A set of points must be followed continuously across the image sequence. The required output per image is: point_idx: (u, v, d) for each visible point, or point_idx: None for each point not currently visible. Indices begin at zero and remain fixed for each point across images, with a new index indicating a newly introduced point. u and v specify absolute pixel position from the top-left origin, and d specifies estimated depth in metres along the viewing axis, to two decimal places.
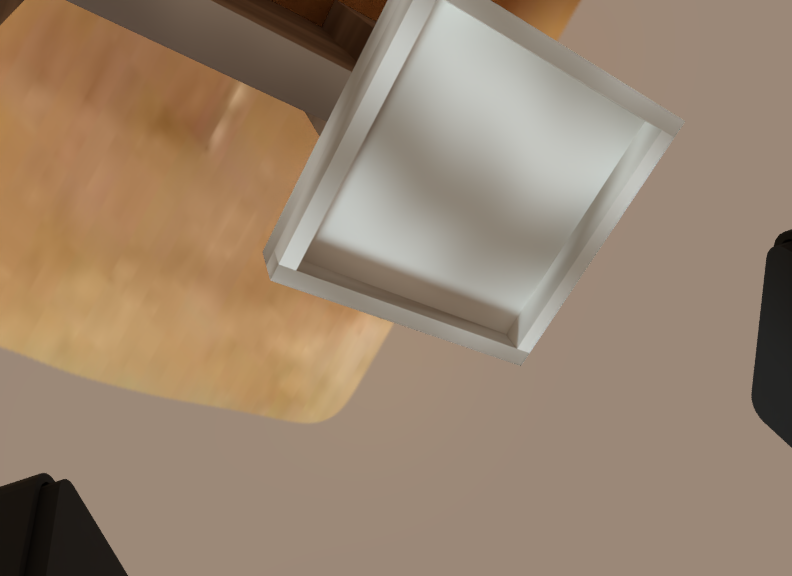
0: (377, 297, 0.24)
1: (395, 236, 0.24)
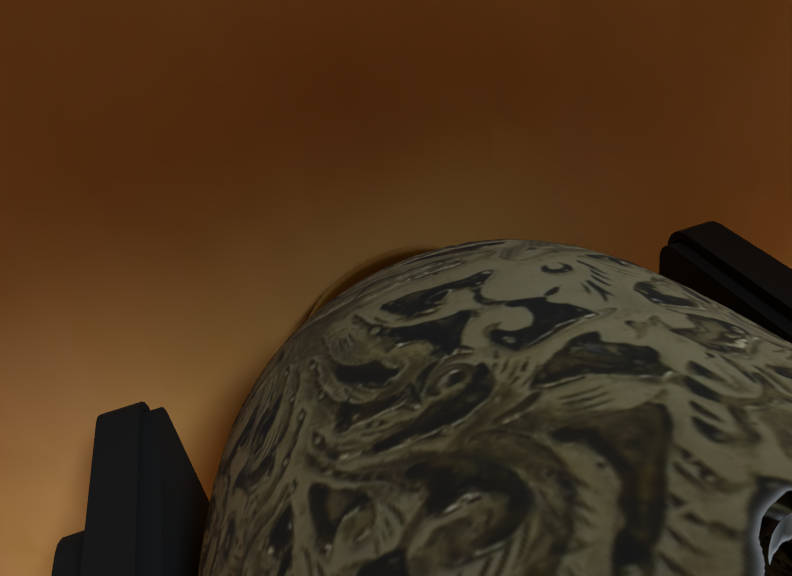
0: None
1: None
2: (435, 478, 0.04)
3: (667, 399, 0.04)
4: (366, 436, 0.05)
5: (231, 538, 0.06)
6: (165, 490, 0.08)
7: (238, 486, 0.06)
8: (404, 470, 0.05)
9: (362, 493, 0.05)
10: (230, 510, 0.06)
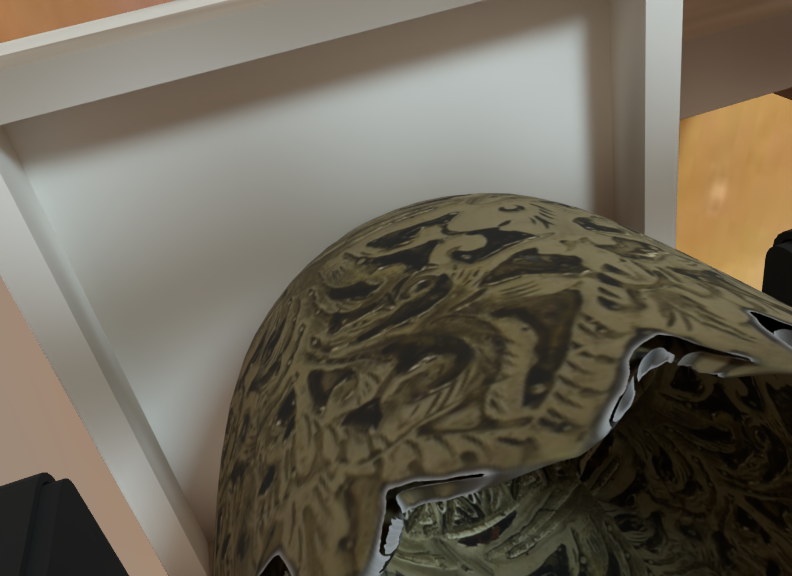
0: (437, 9, 0.10)
1: (444, 124, 0.12)
2: (403, 351, 0.06)
3: (581, 287, 0.06)
4: (352, 332, 0.06)
5: (247, 425, 0.07)
6: None
7: (251, 390, 0.07)
8: (380, 349, 0.06)
9: (348, 369, 0.06)
10: (245, 409, 0.07)
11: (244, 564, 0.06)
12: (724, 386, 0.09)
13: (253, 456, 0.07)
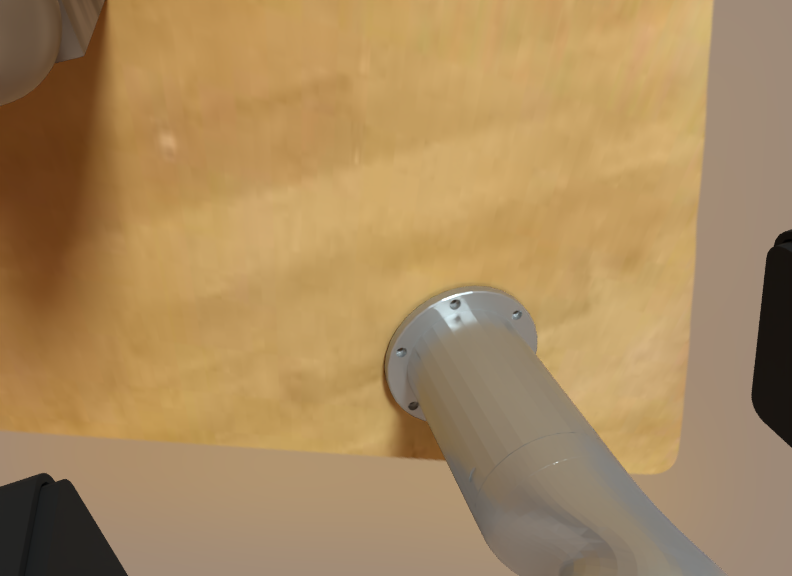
0: None
1: None
2: None
3: None
4: None
5: None
6: None
7: None
8: None
9: None
10: None
11: None
12: None
13: None
